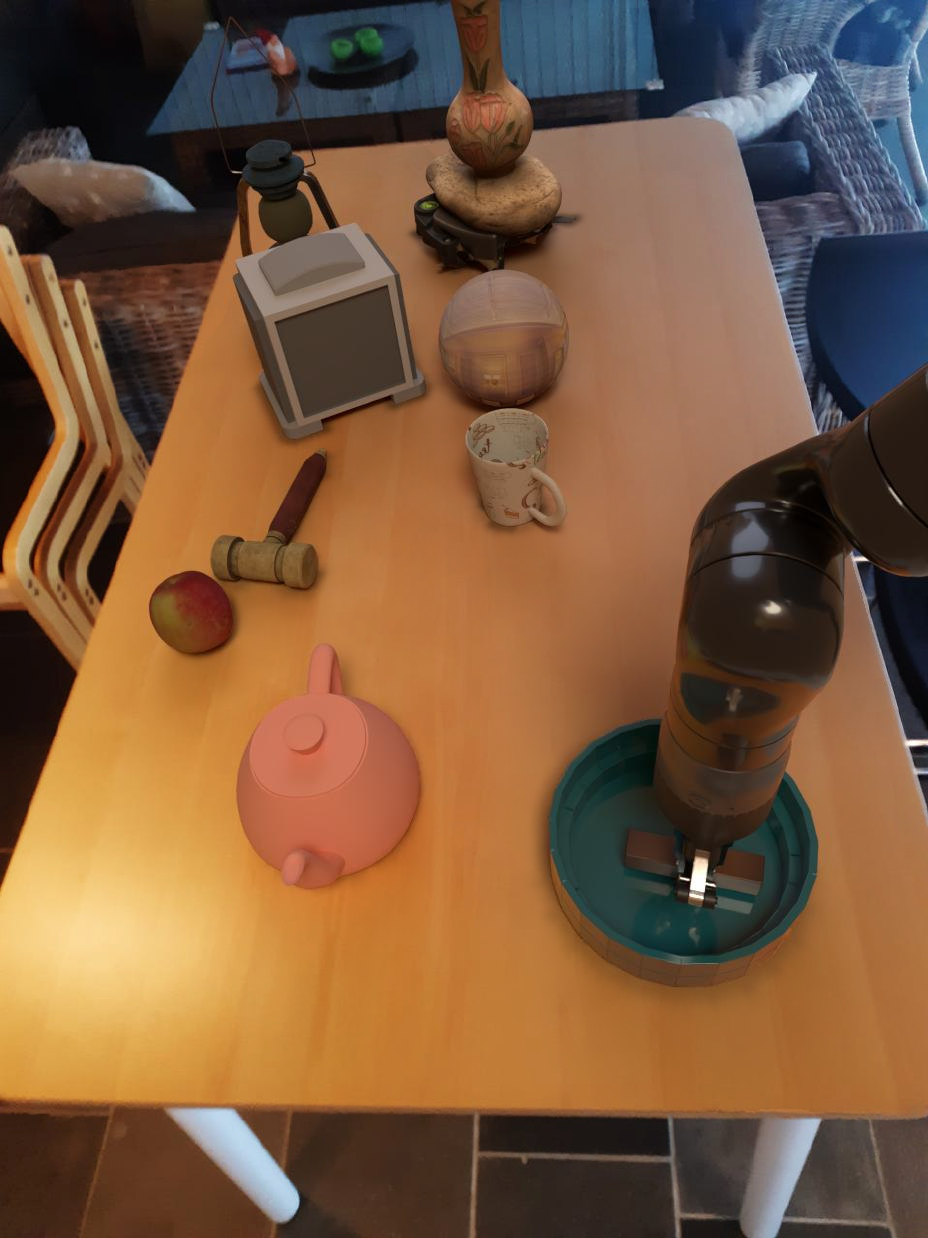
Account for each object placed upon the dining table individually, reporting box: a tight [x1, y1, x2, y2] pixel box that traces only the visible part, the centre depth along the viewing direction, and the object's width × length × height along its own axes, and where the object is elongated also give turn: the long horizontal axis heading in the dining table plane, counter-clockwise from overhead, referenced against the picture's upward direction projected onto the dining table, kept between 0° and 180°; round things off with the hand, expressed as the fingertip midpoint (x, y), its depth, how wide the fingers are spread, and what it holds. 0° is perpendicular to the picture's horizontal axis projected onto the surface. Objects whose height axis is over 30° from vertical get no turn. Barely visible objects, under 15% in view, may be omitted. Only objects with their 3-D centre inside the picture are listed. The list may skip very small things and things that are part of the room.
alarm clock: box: [232, 221, 427, 440], centre depth 104 cm, size 18×13×18 cm
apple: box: [148, 570, 234, 654], centre depth 85 cm, size 8×8×8 cm
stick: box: [624, 829, 765, 895], centre depth 67 cm, size 10×2×2 cm, turn 75°
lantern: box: [209, 16, 341, 258], centre depth 111 cm, size 14×12×35 cm
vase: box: [413, 0, 577, 272], centre depth 116 cm, size 24×22×35 cm
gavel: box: [209, 447, 328, 589], centre depth 96 cm, size 21×5×10 cm
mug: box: [464, 408, 568, 527], centre depth 90 cm, size 8×13×10 cm, turn 43°
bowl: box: [548, 717, 819, 988], centre depth 67 cm, size 19×19×6 cm
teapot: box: [235, 643, 421, 890], centre depth 70 cm, size 22×15×12 cm
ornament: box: [438, 269, 570, 407], centre depth 101 cm, size 15×15×15 cm
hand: (692, 866), depth 67 cm, fingers closed on stick, 2 cm apart
